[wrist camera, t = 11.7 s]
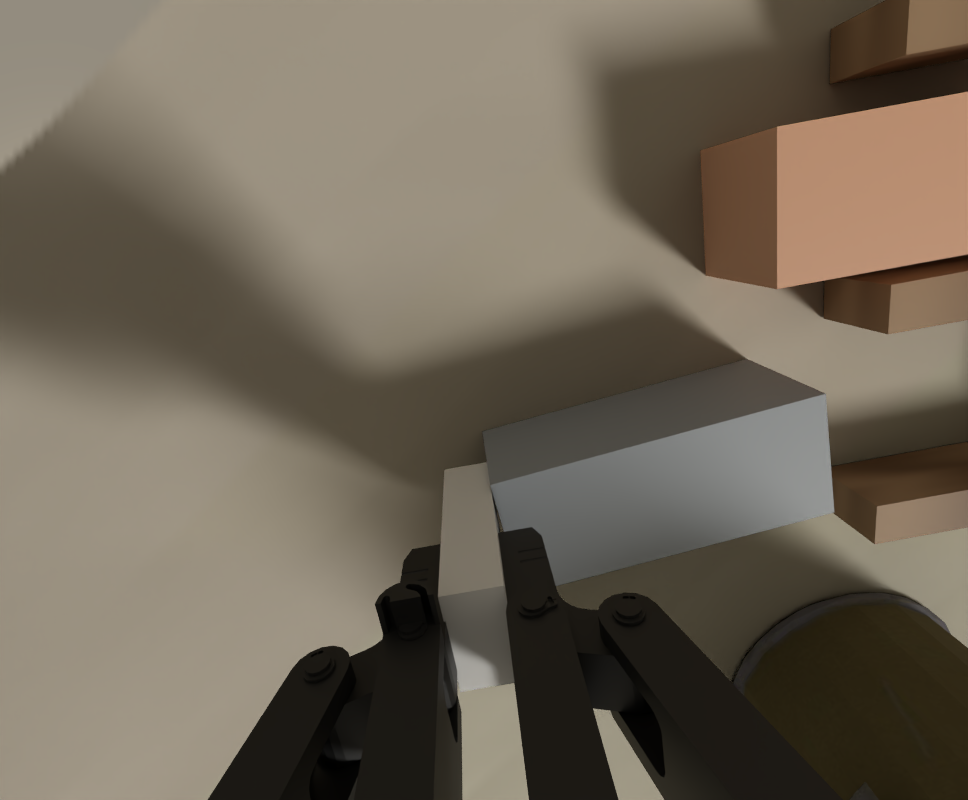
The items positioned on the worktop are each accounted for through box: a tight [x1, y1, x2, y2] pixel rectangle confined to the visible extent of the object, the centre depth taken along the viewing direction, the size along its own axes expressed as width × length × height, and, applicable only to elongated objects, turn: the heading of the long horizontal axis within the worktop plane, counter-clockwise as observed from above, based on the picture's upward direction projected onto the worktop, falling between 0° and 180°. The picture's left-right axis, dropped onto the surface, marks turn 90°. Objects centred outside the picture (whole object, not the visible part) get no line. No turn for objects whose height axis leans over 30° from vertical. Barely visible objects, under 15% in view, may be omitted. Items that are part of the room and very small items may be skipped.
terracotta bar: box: [700, 92, 968, 289], centre depth 16 cm, size 10×4×4 cm, turn 100°
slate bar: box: [482, 359, 834, 586], centre depth 18 cm, size 10×4×4 cm, turn 105°
